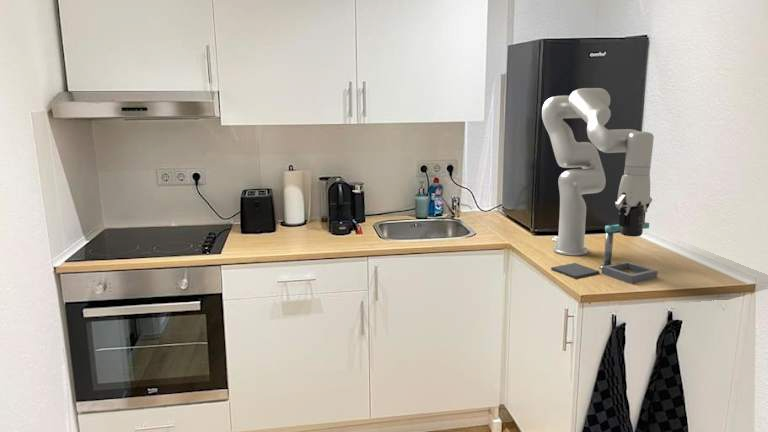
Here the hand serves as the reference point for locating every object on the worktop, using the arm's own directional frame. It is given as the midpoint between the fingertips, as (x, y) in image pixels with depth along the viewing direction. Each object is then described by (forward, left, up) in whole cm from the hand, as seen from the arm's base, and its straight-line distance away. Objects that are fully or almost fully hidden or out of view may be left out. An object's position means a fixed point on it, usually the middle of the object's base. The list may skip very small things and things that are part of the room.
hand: (631, 224), depth 184 cm
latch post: (-8, 0, -17) cm, 19 cm away
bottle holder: (+1, 0, -17) cm, 17 cm away
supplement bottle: (0, 0, -3) cm, 3 cm away
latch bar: (-8, +7, -4) cm, 11 cm away
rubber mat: (-11, -12, -17) cm, 24 cm away
